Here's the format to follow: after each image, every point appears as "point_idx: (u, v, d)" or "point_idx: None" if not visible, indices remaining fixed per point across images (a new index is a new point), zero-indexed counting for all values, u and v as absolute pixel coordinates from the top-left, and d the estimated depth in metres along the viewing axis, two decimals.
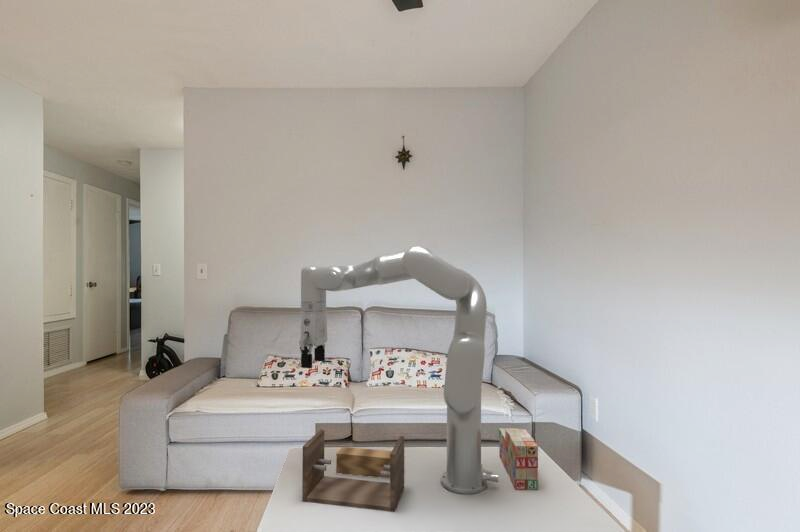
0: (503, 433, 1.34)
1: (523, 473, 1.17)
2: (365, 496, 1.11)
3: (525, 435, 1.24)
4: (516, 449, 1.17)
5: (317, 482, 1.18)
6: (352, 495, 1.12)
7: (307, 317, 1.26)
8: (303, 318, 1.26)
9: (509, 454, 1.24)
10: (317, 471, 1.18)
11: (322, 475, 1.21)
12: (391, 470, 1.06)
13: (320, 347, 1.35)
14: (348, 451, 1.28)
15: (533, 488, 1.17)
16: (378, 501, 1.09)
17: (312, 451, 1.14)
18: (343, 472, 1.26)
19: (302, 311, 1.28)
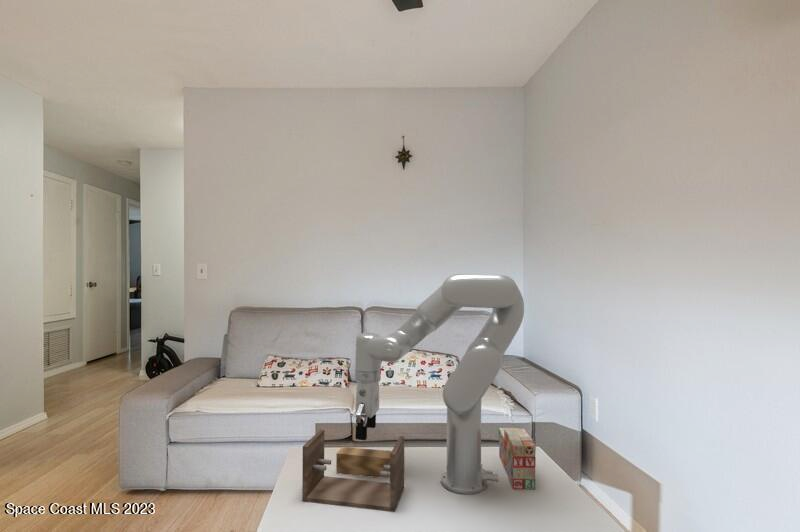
0: (502, 433, 1.34)
1: (521, 472, 1.17)
2: (365, 496, 1.11)
3: (523, 435, 1.24)
4: (513, 448, 1.17)
5: (317, 482, 1.18)
6: (352, 495, 1.12)
7: (363, 388, 1.23)
8: (358, 388, 1.24)
9: (507, 453, 1.24)
10: (317, 471, 1.18)
11: (322, 475, 1.21)
12: (391, 470, 1.06)
13: None
14: (348, 451, 1.28)
15: (531, 487, 1.17)
16: (378, 501, 1.09)
17: (312, 451, 1.14)
18: (343, 472, 1.26)
19: (357, 380, 1.25)
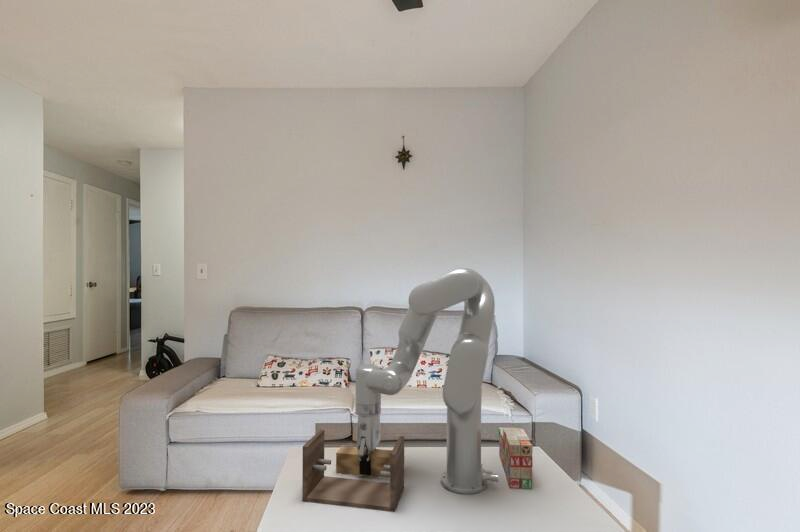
0: (502, 432, 1.34)
1: (517, 472, 1.18)
2: (365, 496, 1.11)
3: (522, 434, 1.25)
4: (510, 448, 1.18)
5: (317, 482, 1.18)
6: (352, 495, 1.12)
7: (363, 421, 1.23)
8: (359, 422, 1.23)
9: (505, 453, 1.25)
10: (317, 471, 1.18)
11: (322, 475, 1.21)
12: (391, 470, 1.06)
13: None
14: (348, 450, 1.28)
15: (527, 487, 1.17)
16: (378, 501, 1.09)
17: (312, 451, 1.14)
18: (343, 471, 1.26)
19: (357, 413, 1.25)
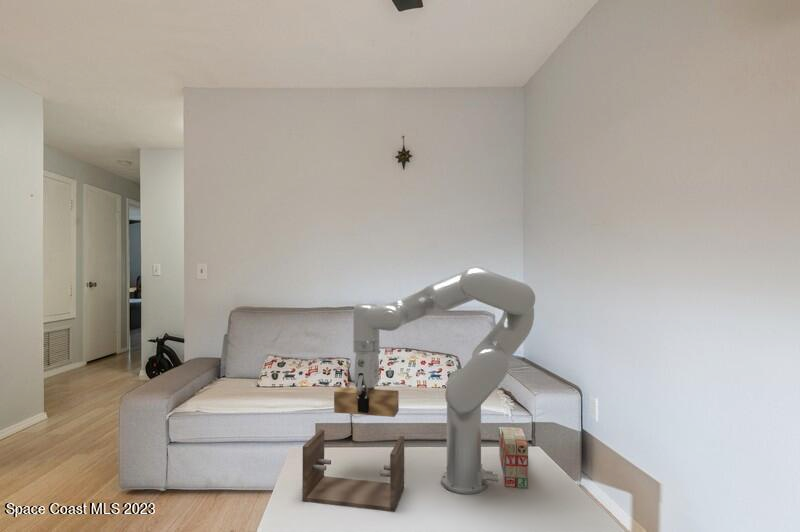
0: (501, 431, 1.35)
1: (513, 471, 1.18)
2: (365, 496, 1.11)
3: (519, 434, 1.25)
4: (506, 447, 1.19)
5: (317, 482, 1.18)
6: (352, 495, 1.12)
7: (361, 358, 1.21)
8: (357, 359, 1.21)
9: None
10: (317, 471, 1.18)
11: (322, 475, 1.21)
12: (391, 470, 1.06)
13: None
14: (346, 390, 1.26)
15: (523, 486, 1.18)
16: (378, 501, 1.09)
17: (312, 451, 1.14)
18: (341, 410, 1.24)
19: (355, 351, 1.23)
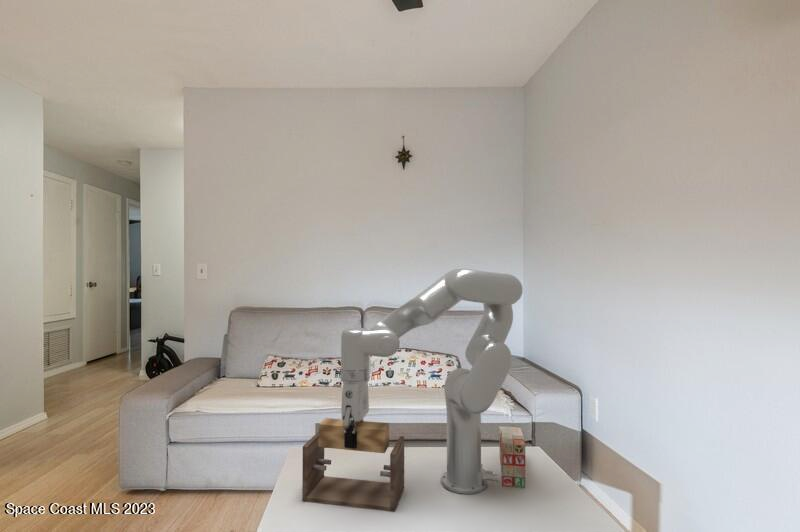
0: None
1: (510, 470, 1.19)
2: (365, 496, 1.11)
3: (517, 433, 1.25)
4: (503, 446, 1.19)
5: (317, 482, 1.18)
6: (352, 495, 1.12)
7: (349, 388, 1.10)
8: (344, 389, 1.11)
9: None
10: (317, 471, 1.18)
11: (322, 475, 1.21)
12: (391, 470, 1.06)
13: None
14: (332, 422, 1.15)
15: (520, 486, 1.18)
16: (378, 501, 1.09)
17: (312, 451, 1.14)
18: (326, 445, 1.14)
19: (343, 380, 1.12)
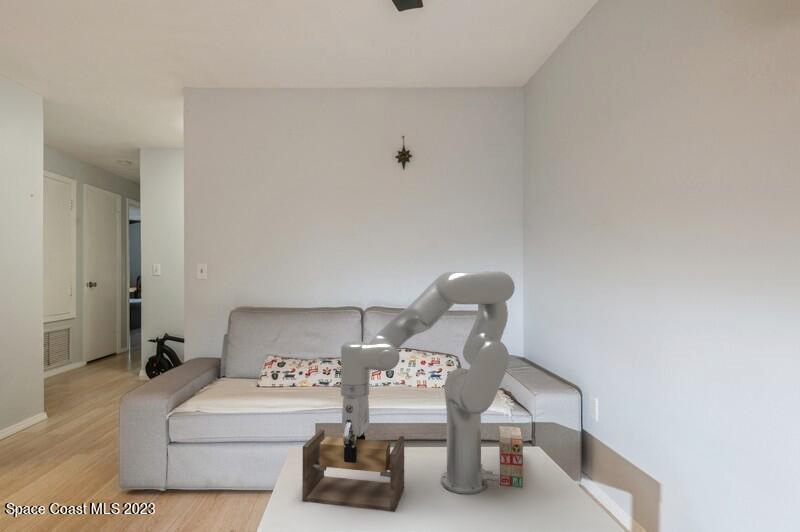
0: None
1: (508, 469, 1.19)
2: (365, 496, 1.11)
3: (516, 433, 1.26)
4: (501, 445, 1.20)
5: (317, 482, 1.18)
6: (352, 495, 1.12)
7: (349, 403, 1.10)
8: (345, 404, 1.11)
9: None
10: (317, 471, 1.18)
11: (322, 475, 1.21)
12: (391, 470, 1.06)
13: None
14: (333, 441, 1.15)
15: (518, 485, 1.18)
16: (378, 501, 1.09)
17: (312, 451, 1.14)
18: (327, 464, 1.13)
19: (343, 395, 1.12)
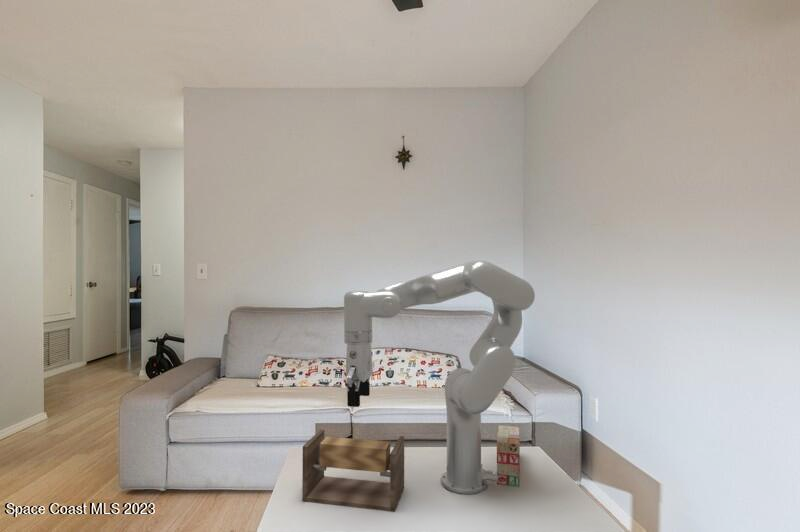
0: None
1: (504, 468, 1.20)
2: (365, 496, 1.11)
3: (514, 433, 1.26)
4: (498, 444, 1.20)
5: (317, 482, 1.18)
6: (352, 495, 1.12)
7: (353, 349, 1.12)
8: (349, 350, 1.12)
9: None
10: (317, 471, 1.18)
11: (322, 475, 1.21)
12: (391, 470, 1.06)
13: (364, 380, 1.21)
14: (333, 441, 1.15)
15: (515, 484, 1.19)
16: (378, 501, 1.09)
17: (312, 451, 1.14)
18: (327, 464, 1.13)
19: (347, 342, 1.14)
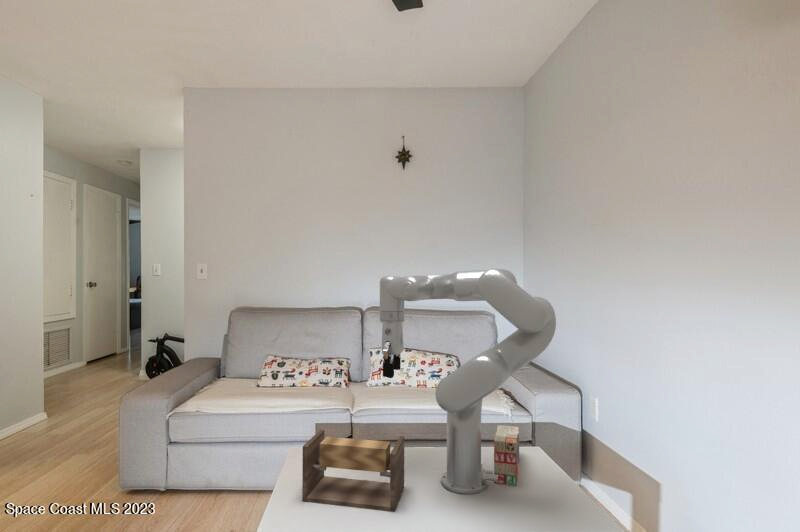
0: None
1: (502, 468, 1.20)
2: (365, 496, 1.11)
3: (512, 432, 1.26)
4: (495, 444, 1.21)
5: (317, 482, 1.18)
6: (352, 495, 1.12)
7: (388, 326, 1.27)
8: (384, 327, 1.27)
9: None
10: (317, 471, 1.18)
11: (322, 475, 1.21)
12: (391, 470, 1.06)
13: (396, 356, 1.36)
14: (333, 441, 1.15)
15: (512, 484, 1.19)
16: (378, 501, 1.09)
17: (312, 451, 1.14)
18: (327, 464, 1.13)
19: (382, 320, 1.29)
